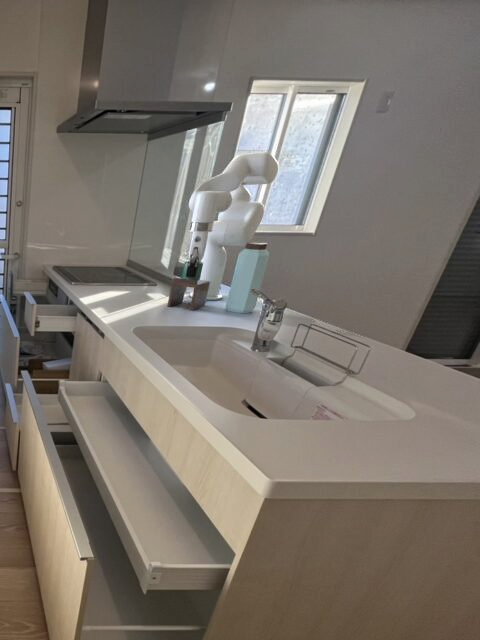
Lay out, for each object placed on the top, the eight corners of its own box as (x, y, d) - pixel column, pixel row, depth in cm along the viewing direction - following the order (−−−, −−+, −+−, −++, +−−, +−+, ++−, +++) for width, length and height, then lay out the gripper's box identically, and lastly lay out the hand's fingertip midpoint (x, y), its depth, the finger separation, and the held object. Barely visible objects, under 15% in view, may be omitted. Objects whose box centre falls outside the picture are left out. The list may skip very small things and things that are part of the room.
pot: (186, 277, 167) (189, 260, 164) (202, 279, 162) (206, 262, 159) (178, 279, 163) (181, 262, 160) (195, 281, 158) (198, 264, 156)
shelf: (180, 301, 174) (186, 274, 169) (204, 306, 167) (211, 277, 162) (167, 306, 168) (172, 277, 163) (191, 310, 161) (198, 280, 156)
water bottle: (244, 315, 154) (263, 245, 143) (219, 309, 162) (235, 243, 151) (260, 311, 158) (279, 243, 147) (234, 306, 166) (251, 241, 156)
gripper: (211, 229, 146) (200, 279, 153) (213, 226, 159) (203, 273, 167) (187, 228, 150) (178, 278, 157) (192, 226, 163) (183, 271, 170)
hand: (191, 275), depth 162 cm, fingers closed on pot, 6 cm apart
